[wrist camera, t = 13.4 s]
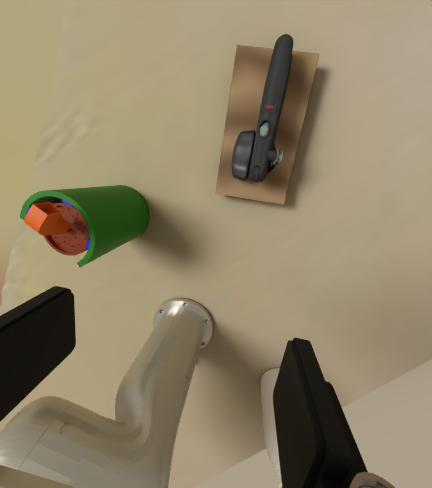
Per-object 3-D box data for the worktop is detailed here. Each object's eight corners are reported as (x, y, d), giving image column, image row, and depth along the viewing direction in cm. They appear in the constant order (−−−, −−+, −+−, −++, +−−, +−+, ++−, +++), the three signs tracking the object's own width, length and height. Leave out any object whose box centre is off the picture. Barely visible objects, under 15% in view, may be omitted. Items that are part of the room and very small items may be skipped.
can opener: (271, 187, 35) (275, 189, 30) (227, 176, 36) (224, 176, 30) (311, 53, 30) (325, 26, 25) (260, 42, 30) (263, 13, 25)
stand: (281, 202, 38) (283, 204, 36) (217, 192, 39) (215, 193, 37) (313, 64, 33) (319, 53, 30) (237, 56, 34) (237, 45, 31)
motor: (94, 218, 44) (-24, 247, 25) (108, 175, 41) (-12, 171, 22) (140, 242, 44) (58, 290, 25) (157, 201, 41) (79, 220, 22)
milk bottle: (271, 399, 50) (285, 534, 31) (253, 373, 49) (256, 498, 30) (303, 388, 48) (340, 525, 29) (286, 361, 47) (312, 485, 28)
